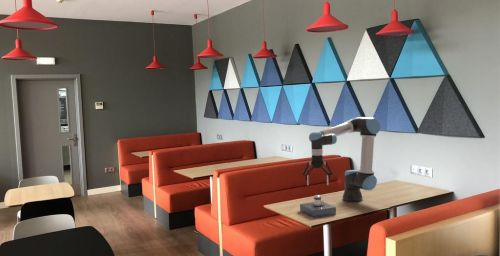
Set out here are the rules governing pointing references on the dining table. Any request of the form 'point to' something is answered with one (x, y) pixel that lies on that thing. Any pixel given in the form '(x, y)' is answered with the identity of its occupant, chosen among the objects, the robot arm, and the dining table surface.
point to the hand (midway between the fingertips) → (317, 184)
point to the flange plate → (318, 209)
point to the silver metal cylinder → (317, 200)
